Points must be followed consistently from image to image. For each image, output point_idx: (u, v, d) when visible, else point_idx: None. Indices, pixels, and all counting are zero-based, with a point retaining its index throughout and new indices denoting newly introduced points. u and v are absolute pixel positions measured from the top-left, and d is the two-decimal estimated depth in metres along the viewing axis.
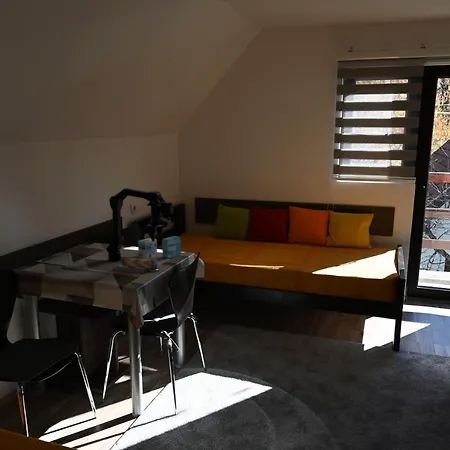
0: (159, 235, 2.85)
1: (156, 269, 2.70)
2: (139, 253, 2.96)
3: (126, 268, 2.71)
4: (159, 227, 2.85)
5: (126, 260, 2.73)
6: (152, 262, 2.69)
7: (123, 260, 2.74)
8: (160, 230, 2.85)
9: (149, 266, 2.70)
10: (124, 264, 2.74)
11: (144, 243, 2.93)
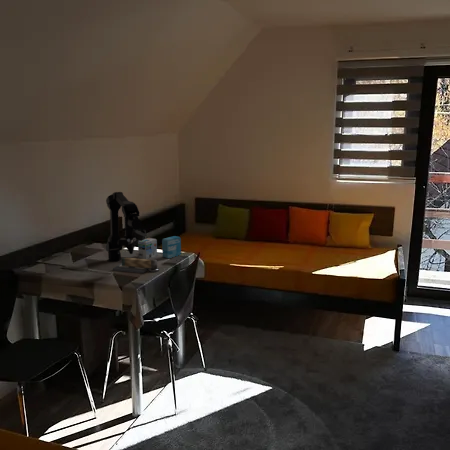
0: None
1: (156, 269, 2.70)
2: (139, 253, 2.96)
3: (126, 268, 2.71)
4: None
5: (126, 260, 2.73)
6: (152, 262, 2.69)
7: (123, 260, 2.74)
8: None
9: (149, 266, 2.70)
10: (124, 264, 2.74)
11: (144, 243, 2.93)
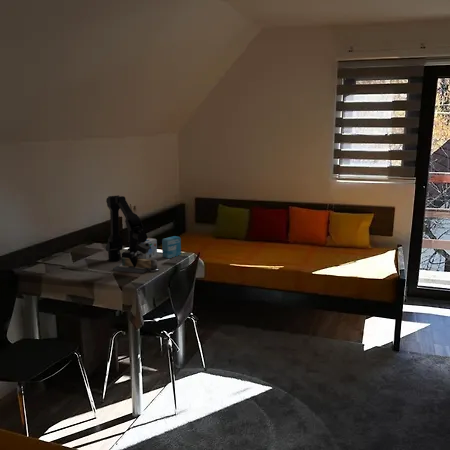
0: None
1: (156, 269, 2.70)
2: None
3: (126, 268, 2.71)
4: None
5: (126, 260, 2.74)
6: (152, 262, 2.69)
7: (123, 260, 2.74)
8: None
9: (149, 266, 2.70)
10: (125, 264, 2.75)
11: (144, 243, 2.93)
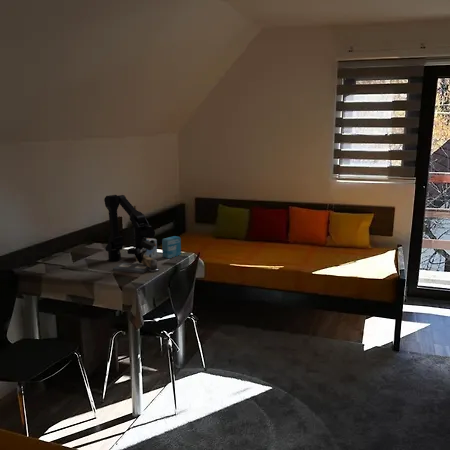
0: None
1: (156, 269, 2.70)
2: None
3: (126, 268, 2.71)
4: None
5: None
6: (151, 262, 2.69)
7: None
8: None
9: (149, 265, 2.71)
10: (137, 260, 2.83)
11: None
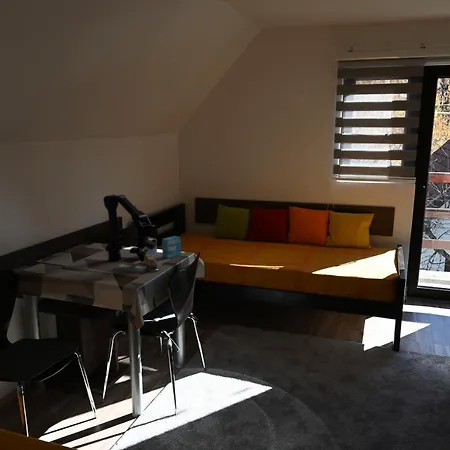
0: None
1: (156, 269, 2.70)
2: None
3: (126, 268, 2.71)
4: None
5: None
6: (150, 262, 2.69)
7: None
8: None
9: (150, 265, 2.72)
10: None
11: None
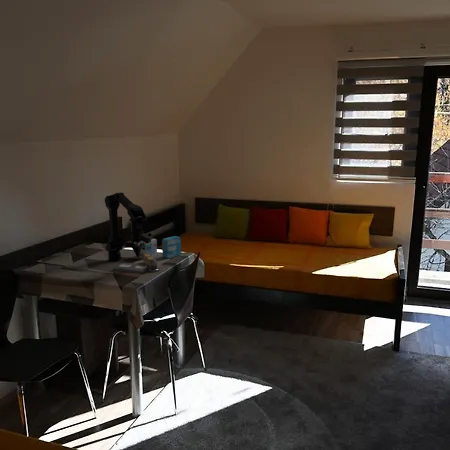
0: None
1: (156, 269, 2.70)
2: None
3: (126, 268, 2.71)
4: None
5: (143, 255, 2.84)
6: (150, 262, 2.69)
7: (142, 254, 2.86)
8: None
9: (150, 265, 2.72)
10: (143, 259, 2.86)
11: None
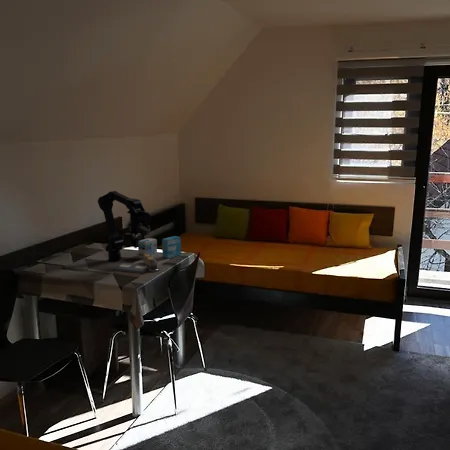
0: None
1: (156, 269, 2.70)
2: (139, 253, 2.96)
3: (126, 268, 2.71)
4: None
5: (143, 255, 2.84)
6: (150, 262, 2.69)
7: (142, 254, 2.86)
8: (136, 240, 2.79)
9: (150, 265, 2.72)
10: (143, 259, 2.86)
11: (144, 243, 2.93)
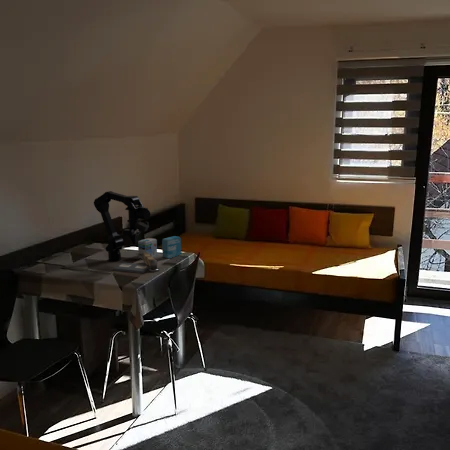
0: None
1: (156, 269, 2.70)
2: (139, 253, 2.96)
3: (126, 268, 2.71)
4: None
5: (143, 255, 2.84)
6: (150, 262, 2.69)
7: (142, 254, 2.86)
8: None
9: (150, 265, 2.72)
10: (143, 259, 2.86)
11: (144, 243, 2.93)
